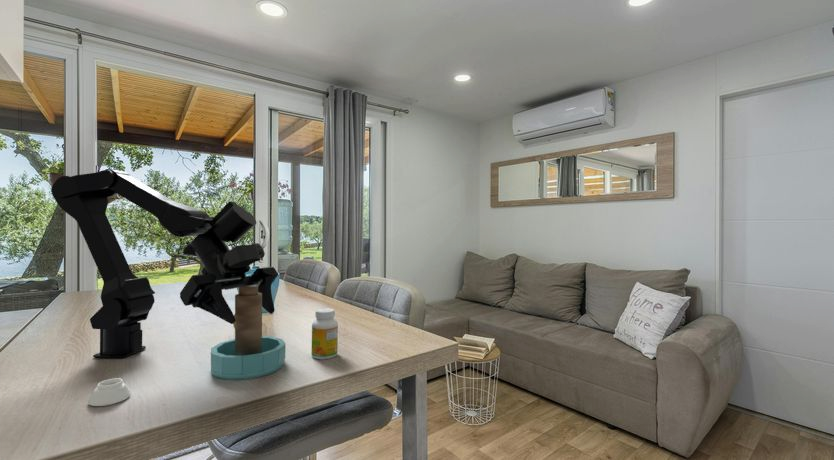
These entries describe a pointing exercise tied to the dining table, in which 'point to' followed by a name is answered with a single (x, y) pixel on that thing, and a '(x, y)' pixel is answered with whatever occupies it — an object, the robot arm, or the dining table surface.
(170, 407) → the dining table surface
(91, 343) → the dining table surface
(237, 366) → the bowl
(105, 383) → the lidless jar
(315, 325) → the supplement bottle
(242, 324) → the pepper mill
